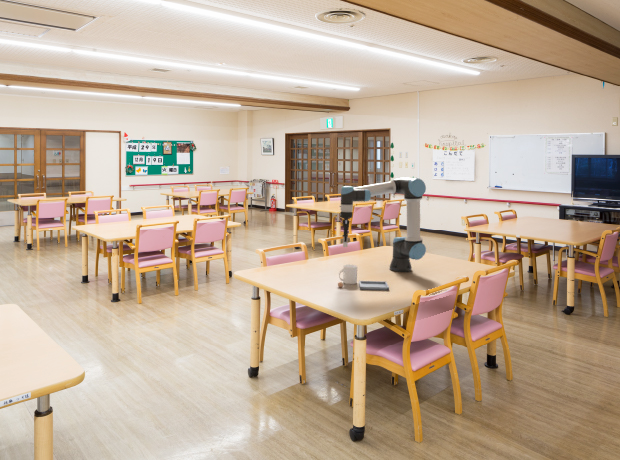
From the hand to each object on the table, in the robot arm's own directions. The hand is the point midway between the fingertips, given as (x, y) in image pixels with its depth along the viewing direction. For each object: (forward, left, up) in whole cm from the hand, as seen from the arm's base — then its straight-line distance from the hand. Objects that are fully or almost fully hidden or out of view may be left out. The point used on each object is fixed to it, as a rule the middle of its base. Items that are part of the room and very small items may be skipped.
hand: (345, 245), depth 304 cm
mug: (-2, +5, -23) cm, 24 cm away
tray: (-17, +12, -23) cm, 31 cm away
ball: (+3, +15, -23) cm, 28 cm away
